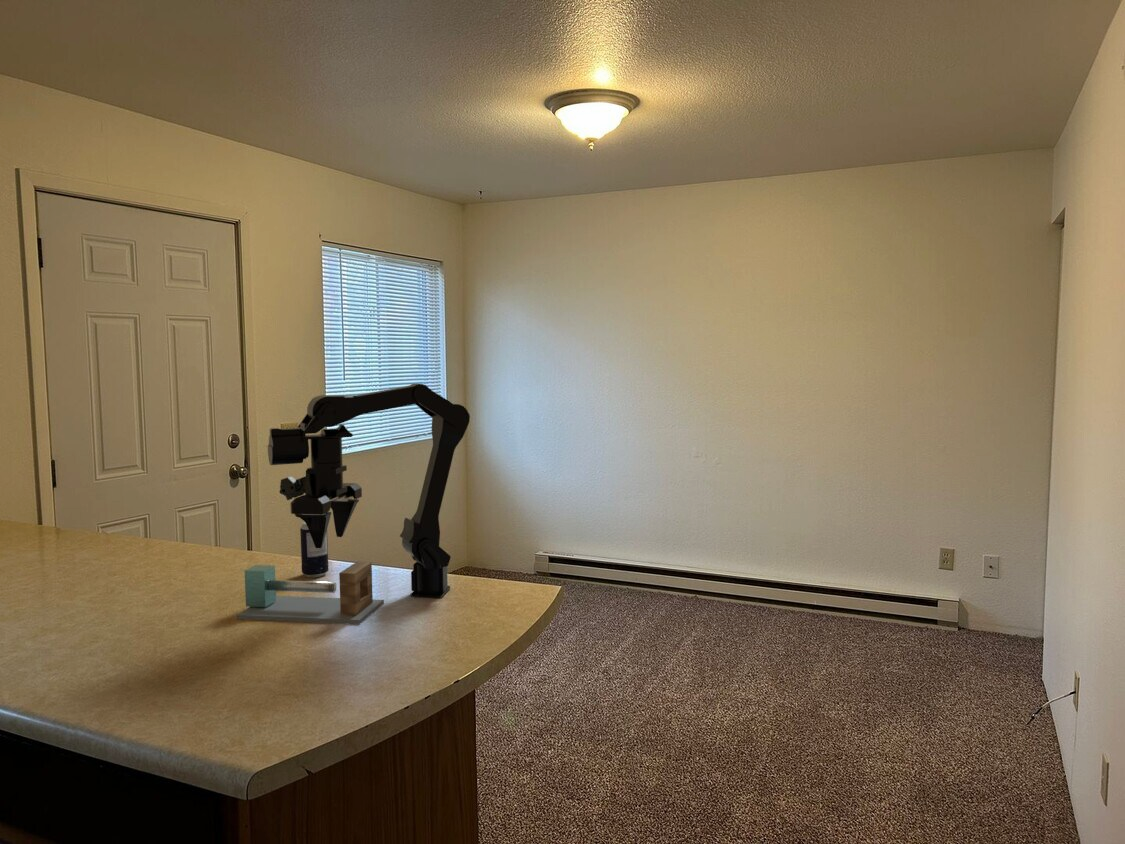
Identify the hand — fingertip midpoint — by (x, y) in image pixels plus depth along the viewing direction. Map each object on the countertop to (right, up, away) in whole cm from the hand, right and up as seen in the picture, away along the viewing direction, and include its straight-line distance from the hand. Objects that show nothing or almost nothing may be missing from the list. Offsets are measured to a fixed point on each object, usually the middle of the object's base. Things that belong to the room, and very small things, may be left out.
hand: (329, 542), depth 150 cm
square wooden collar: (+6, -13, -2) cm, 14 cm away
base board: (-3, -13, 0) cm, 13 cm away
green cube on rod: (-7, -12, 0) cm, 14 cm away
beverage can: (-11, -11, +25) cm, 29 cm away
